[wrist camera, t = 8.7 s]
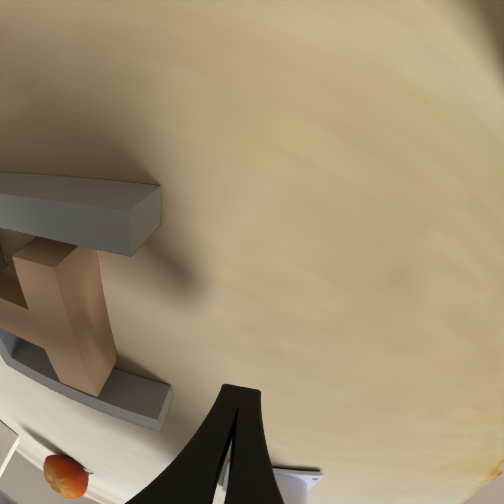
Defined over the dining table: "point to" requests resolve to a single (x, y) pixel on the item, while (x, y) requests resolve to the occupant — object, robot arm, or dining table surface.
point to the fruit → (65, 476)
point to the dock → (96, 237)
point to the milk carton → (6, 445)
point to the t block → (60, 310)
